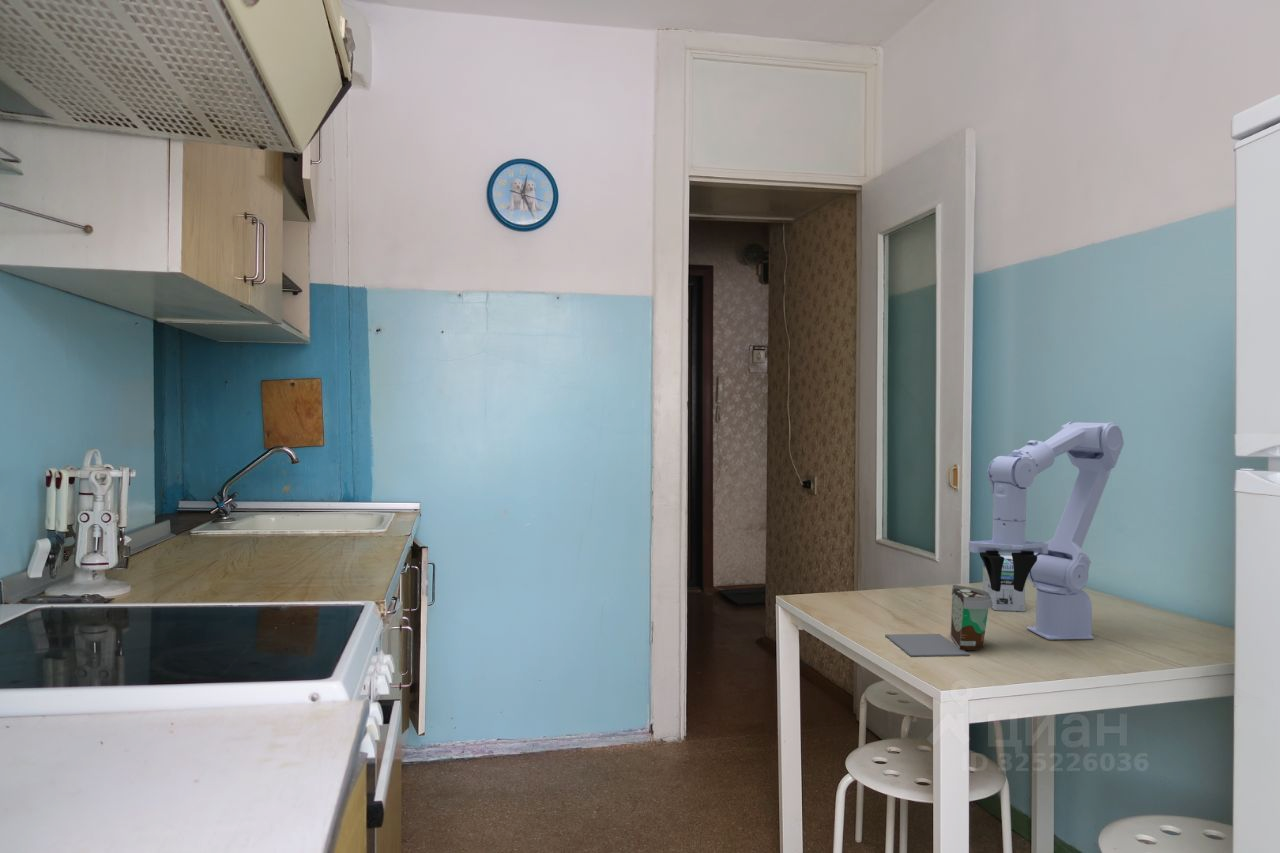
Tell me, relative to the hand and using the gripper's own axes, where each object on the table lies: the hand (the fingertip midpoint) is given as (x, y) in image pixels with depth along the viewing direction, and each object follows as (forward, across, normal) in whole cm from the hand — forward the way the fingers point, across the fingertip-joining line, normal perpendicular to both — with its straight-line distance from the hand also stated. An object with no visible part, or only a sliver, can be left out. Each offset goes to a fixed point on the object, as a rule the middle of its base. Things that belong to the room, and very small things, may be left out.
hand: (1007, 590), depth 154 cm
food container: (+11, -6, 0) cm, 12 cm away
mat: (+11, -15, 0) cm, 19 cm away
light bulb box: (+10, +15, +29) cm, 34 cm away
